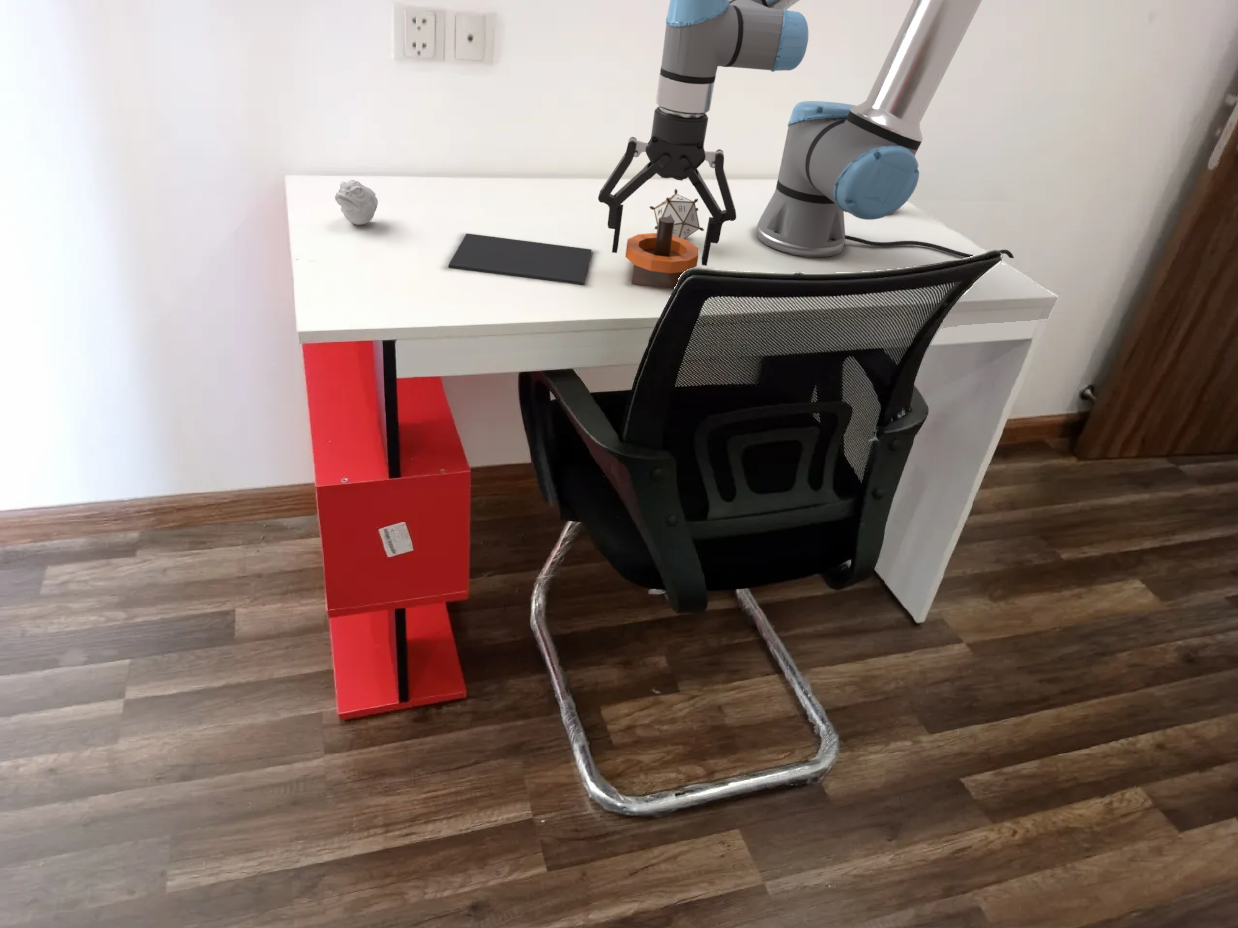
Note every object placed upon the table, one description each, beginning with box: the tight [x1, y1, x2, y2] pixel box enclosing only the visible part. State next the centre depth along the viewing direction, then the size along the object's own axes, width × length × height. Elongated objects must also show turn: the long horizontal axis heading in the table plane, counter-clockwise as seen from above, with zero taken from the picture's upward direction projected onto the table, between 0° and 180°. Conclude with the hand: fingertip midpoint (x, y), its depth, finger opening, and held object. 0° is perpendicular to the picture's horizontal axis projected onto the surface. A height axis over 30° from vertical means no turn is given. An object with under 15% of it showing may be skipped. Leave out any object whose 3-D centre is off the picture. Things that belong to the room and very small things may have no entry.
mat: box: [447, 232, 592, 285], centre depth 139 cm, size 20×13×1 cm, turn 86°
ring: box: [625, 232, 699, 273], centre depth 137 cm, size 11×11×2 cm
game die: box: [649, 188, 705, 240], centre depth 149 cm, size 9×8×10 cm
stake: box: [631, 217, 683, 290], centre depth 136 cm, size 8×8×9 cm
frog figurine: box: [334, 179, 379, 226], centre depth 141 cm, size 6×7×7 cm
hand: (659, 256), depth 137 cm, fingers open, 13 cm apart
